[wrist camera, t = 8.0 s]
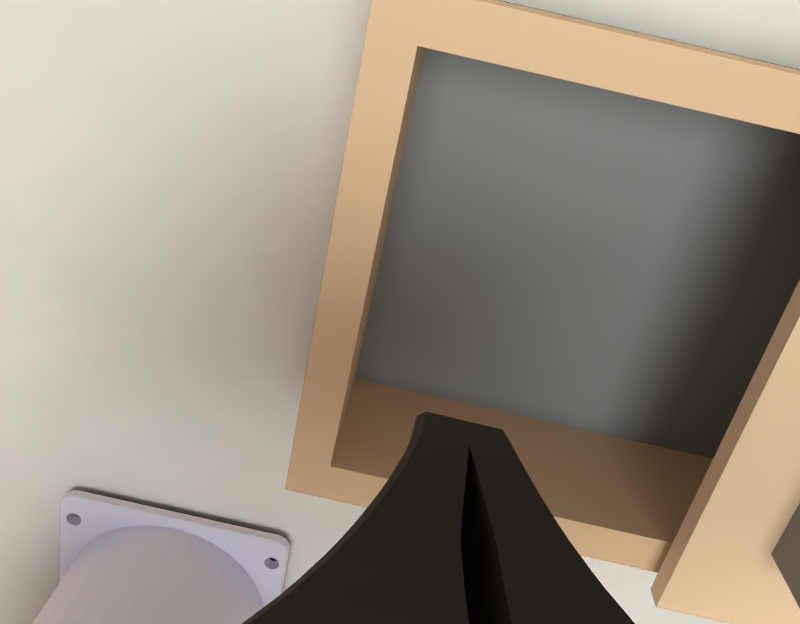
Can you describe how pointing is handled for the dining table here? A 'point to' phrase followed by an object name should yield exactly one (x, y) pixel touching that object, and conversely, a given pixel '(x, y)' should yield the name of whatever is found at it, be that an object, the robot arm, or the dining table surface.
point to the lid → (747, 504)
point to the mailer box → (552, 259)
